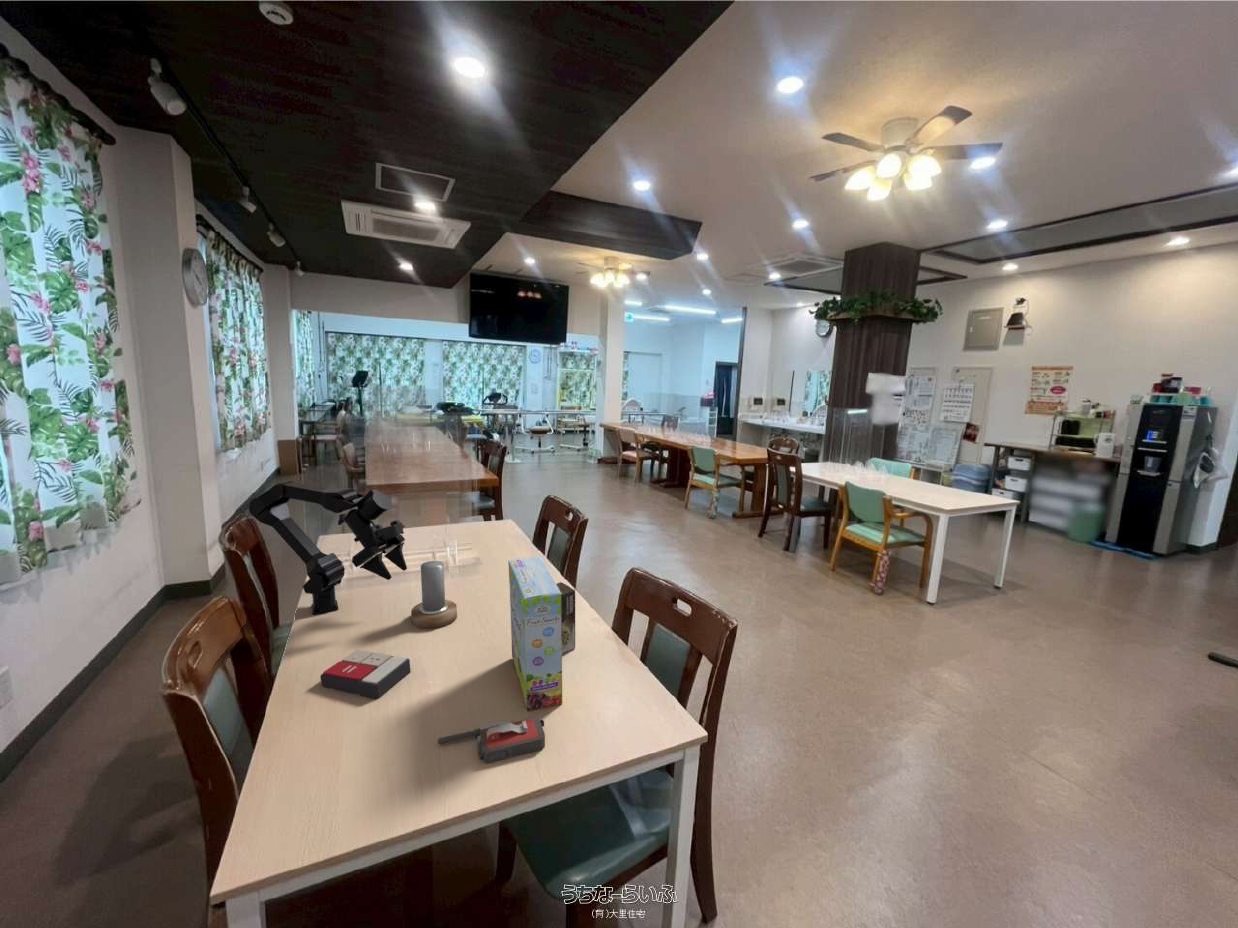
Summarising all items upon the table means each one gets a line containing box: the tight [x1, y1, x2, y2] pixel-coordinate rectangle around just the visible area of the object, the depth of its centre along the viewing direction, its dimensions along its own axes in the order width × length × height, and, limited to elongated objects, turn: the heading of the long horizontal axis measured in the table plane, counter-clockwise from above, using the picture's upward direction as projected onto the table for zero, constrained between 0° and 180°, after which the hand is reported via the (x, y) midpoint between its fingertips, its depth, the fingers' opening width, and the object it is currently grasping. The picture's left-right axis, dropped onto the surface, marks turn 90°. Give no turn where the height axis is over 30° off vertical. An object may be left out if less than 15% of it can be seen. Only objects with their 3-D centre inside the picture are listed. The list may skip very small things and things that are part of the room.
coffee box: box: [556, 581, 576, 655], centre depth 129 cm, size 9×6×16 cm
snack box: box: [507, 555, 564, 712], centre depth 115 cm, size 22×9×26 cm, turn 20°
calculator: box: [320, 649, 412, 700], centre depth 116 cm, size 11×4×15 cm
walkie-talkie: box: [437, 717, 546, 764], centre depth 97 cm, size 9×4×20 cm
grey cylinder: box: [419, 560, 448, 615], centre depth 143 cm, size 8×8×13 cm
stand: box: [410, 599, 458, 630], centre depth 144 cm, size 12×12×3 cm
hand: (398, 574), depth 142 cm, fingers open, 9 cm apart
